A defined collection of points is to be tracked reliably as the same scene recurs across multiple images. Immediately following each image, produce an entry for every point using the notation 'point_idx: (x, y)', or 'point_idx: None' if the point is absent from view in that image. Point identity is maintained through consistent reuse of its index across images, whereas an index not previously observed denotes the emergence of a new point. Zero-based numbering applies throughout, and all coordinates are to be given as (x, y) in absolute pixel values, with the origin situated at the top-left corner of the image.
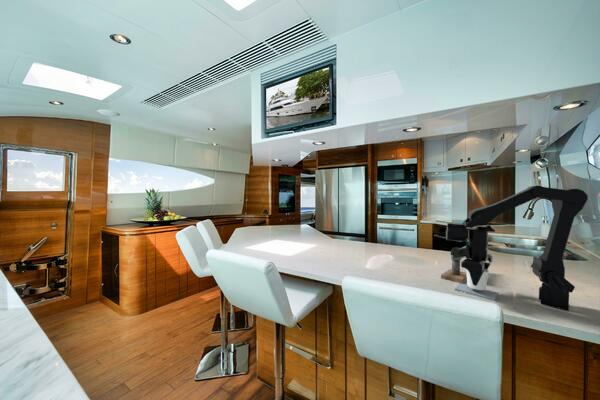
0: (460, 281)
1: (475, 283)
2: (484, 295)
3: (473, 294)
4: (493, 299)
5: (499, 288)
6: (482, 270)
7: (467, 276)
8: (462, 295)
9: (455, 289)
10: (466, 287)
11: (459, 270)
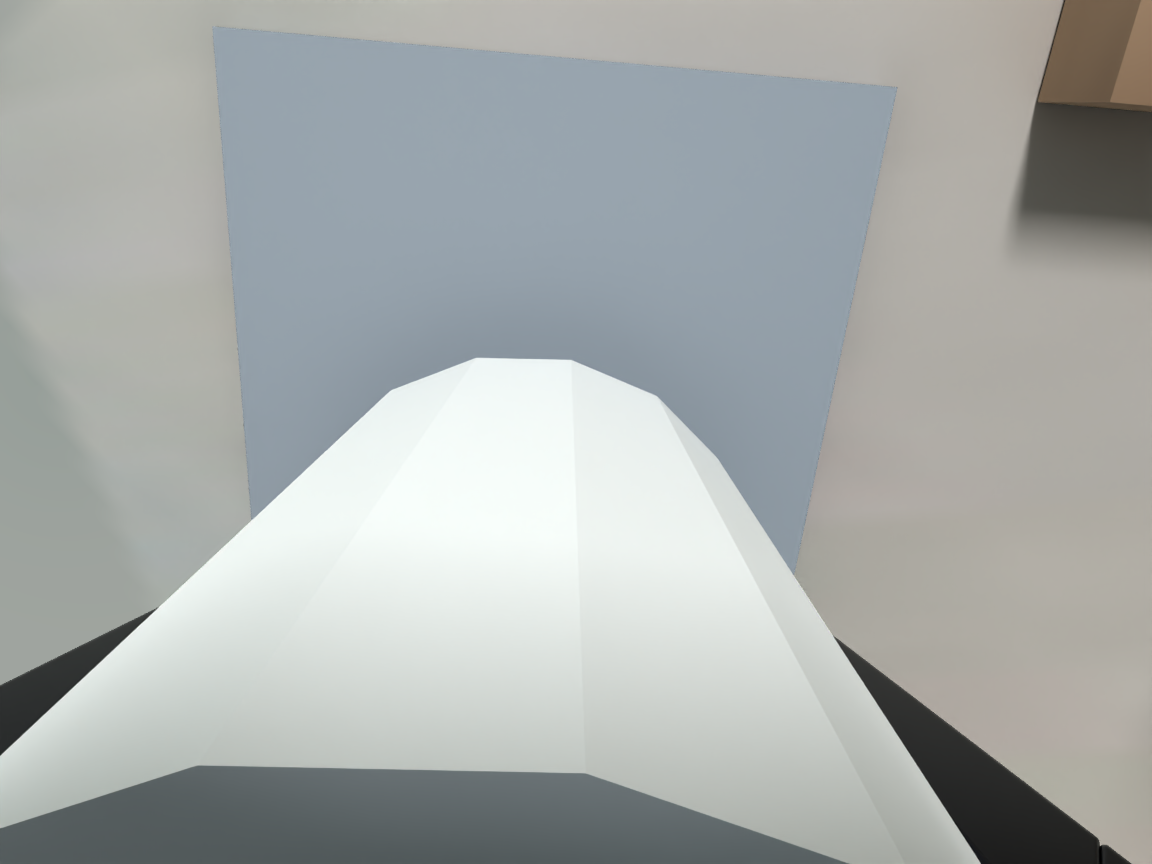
0: (1084, 39)
1: None
2: None
3: (262, 476)
4: None
5: (1148, 798)
6: None
7: (261, 518)
8: (4, 277)
9: (228, 45)
10: (588, 290)
11: None
